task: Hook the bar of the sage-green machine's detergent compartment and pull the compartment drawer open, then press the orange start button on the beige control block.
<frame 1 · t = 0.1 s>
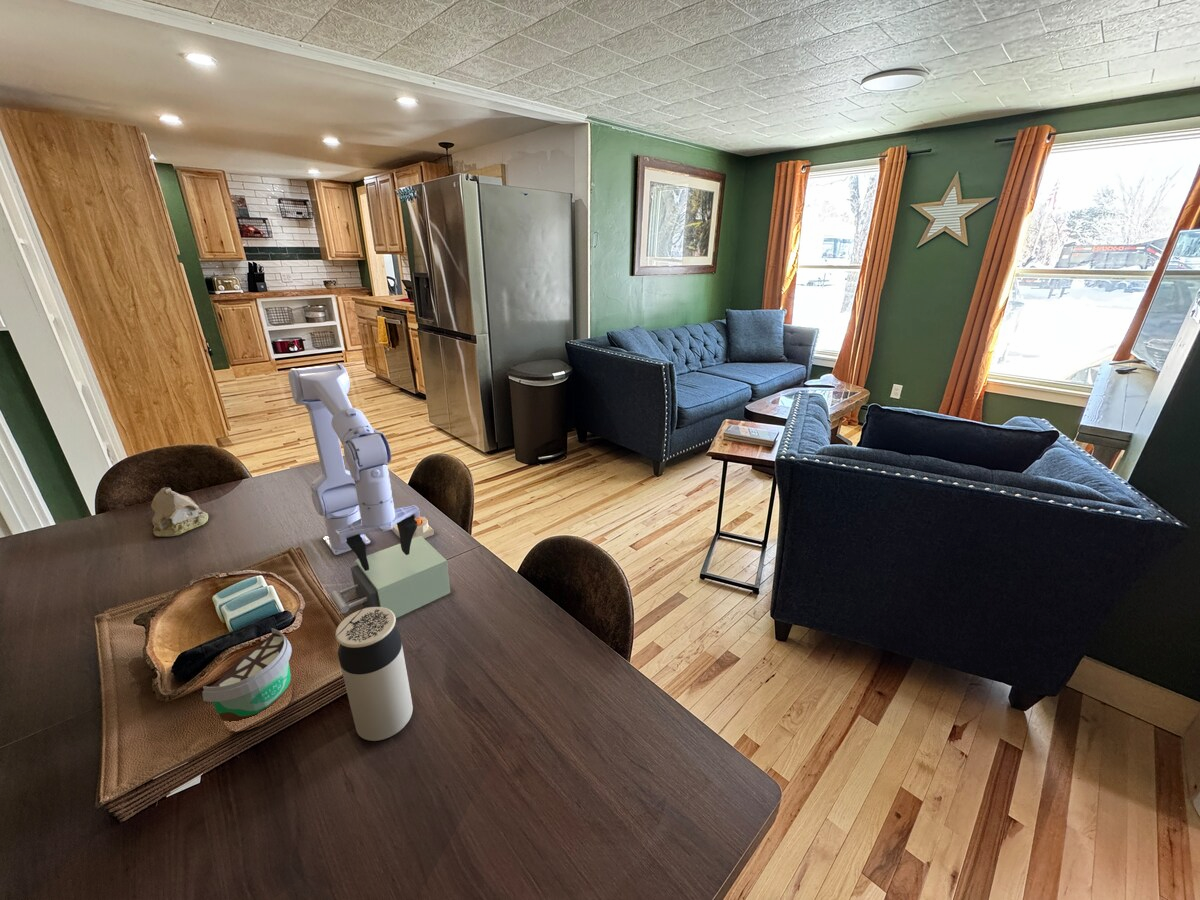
hand: (386, 560, 91), 10 cm above the table, tool pointing down, fingers open, 7 cm apart
travel mug: (385, 718, 72), on the table
control block: (410, 530, 120), on the table
compartment: (383, 585, 94), point 4 cm above the table, slide at 0.0 cm
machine: (406, 592, 98), on the table
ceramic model: (179, 523, 120), on the table
food container: (273, 709, 73), on the table
start button: (413, 521, 116), point 4 cm above the table, slide at 0.1 cm
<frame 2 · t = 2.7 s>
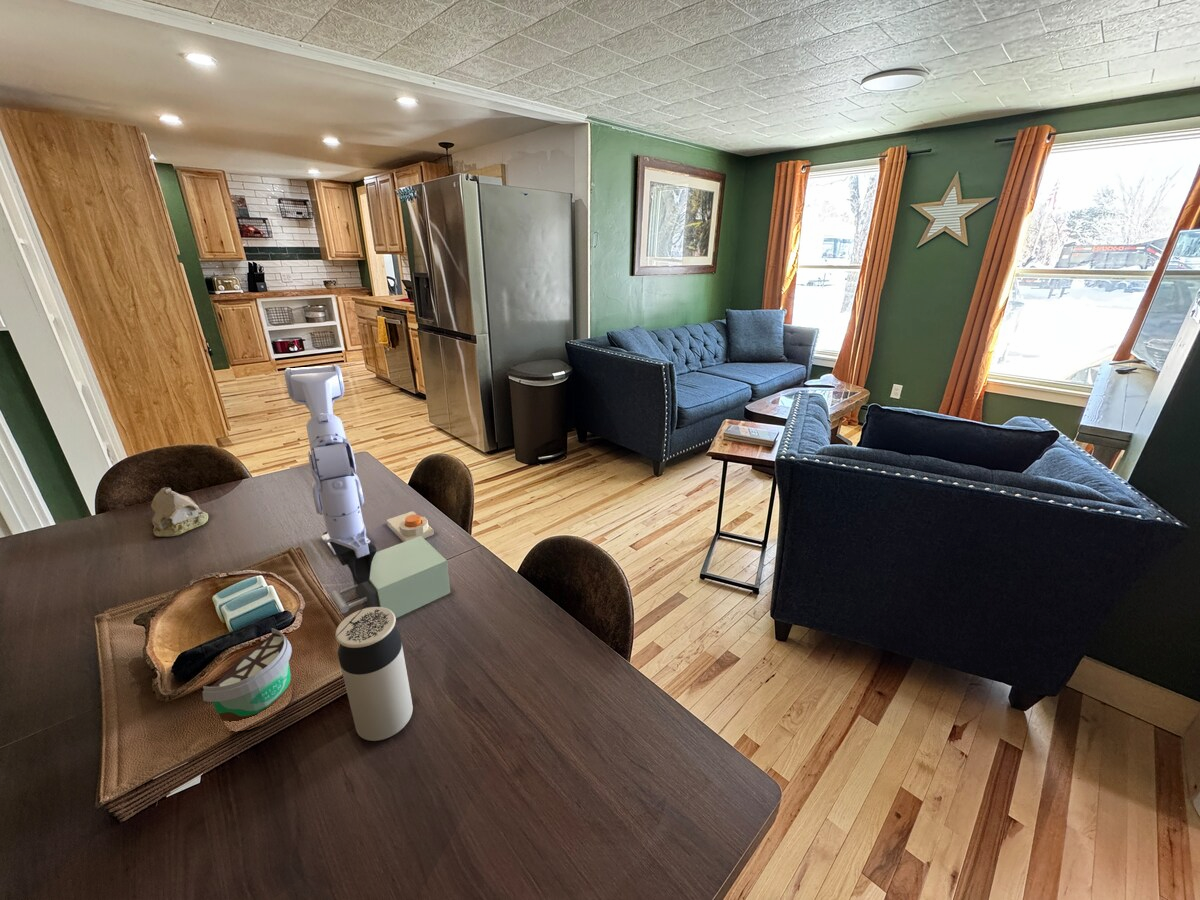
hand: (355, 572, 89), 10 cm above the table, tool pointing down, fingers open, 7 cm apart
nothing on the table moved.
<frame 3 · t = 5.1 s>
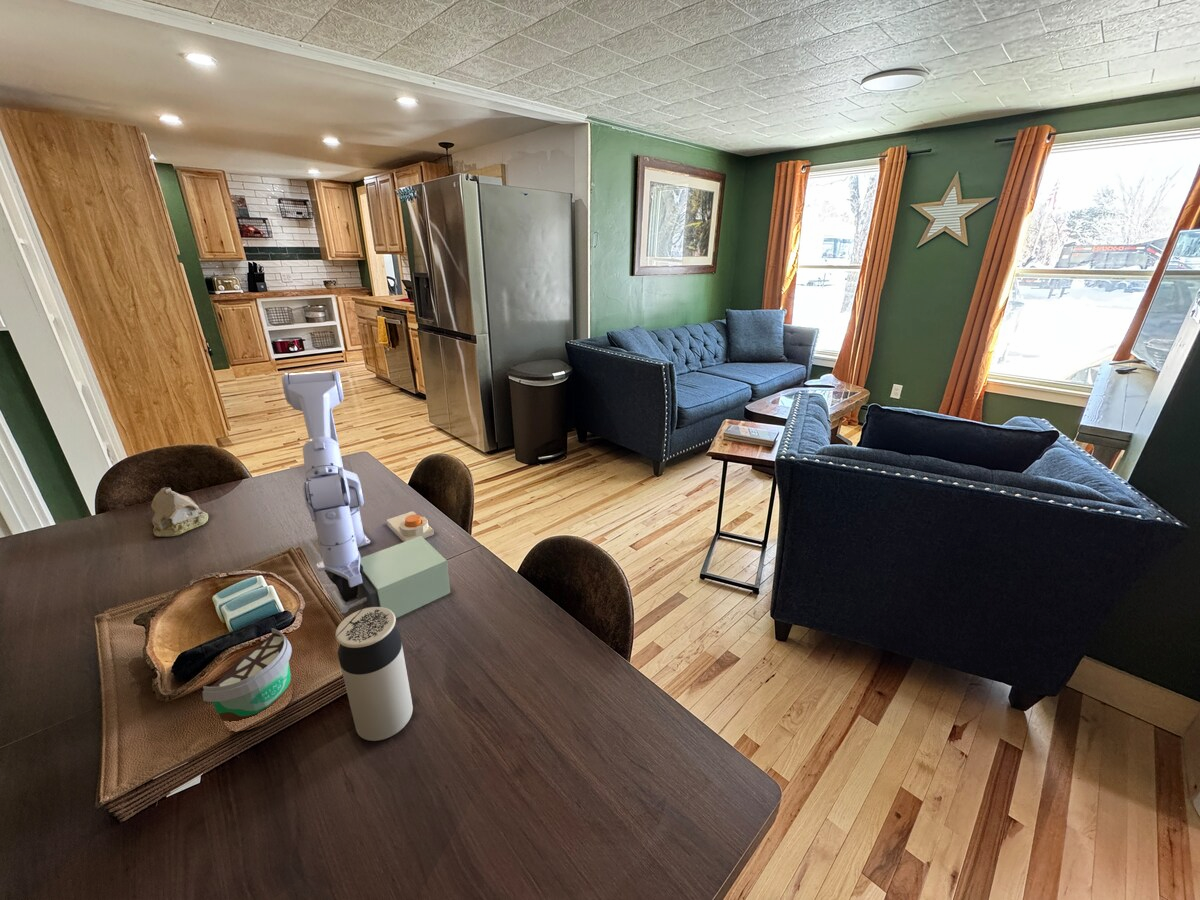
hand: (350, 598, 90), 4 cm above the table, tool pointing down, fingers closed, pressing on compartment
compartment: (383, 585, 94), point 4 cm above the table, slide at 0.0 cm, touching gripper
everything else where it was.
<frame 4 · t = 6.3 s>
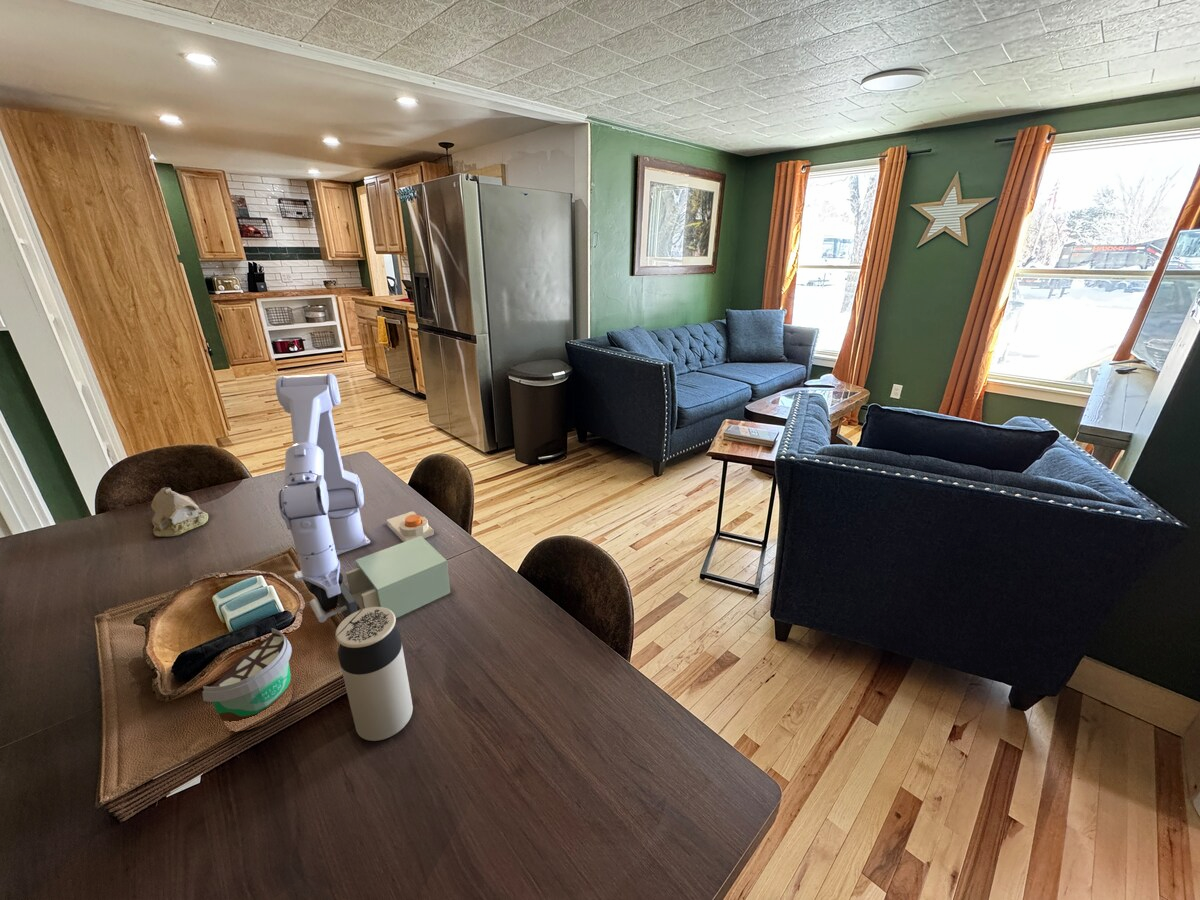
hand: (330, 608, 88), 4 cm above the table, tool pointing down, fingers closed, pressing on compartment
compartment: (363, 593, 91), point 4 cm above the table, slide at 3.7 cm, touching gripper
everything else where it was.
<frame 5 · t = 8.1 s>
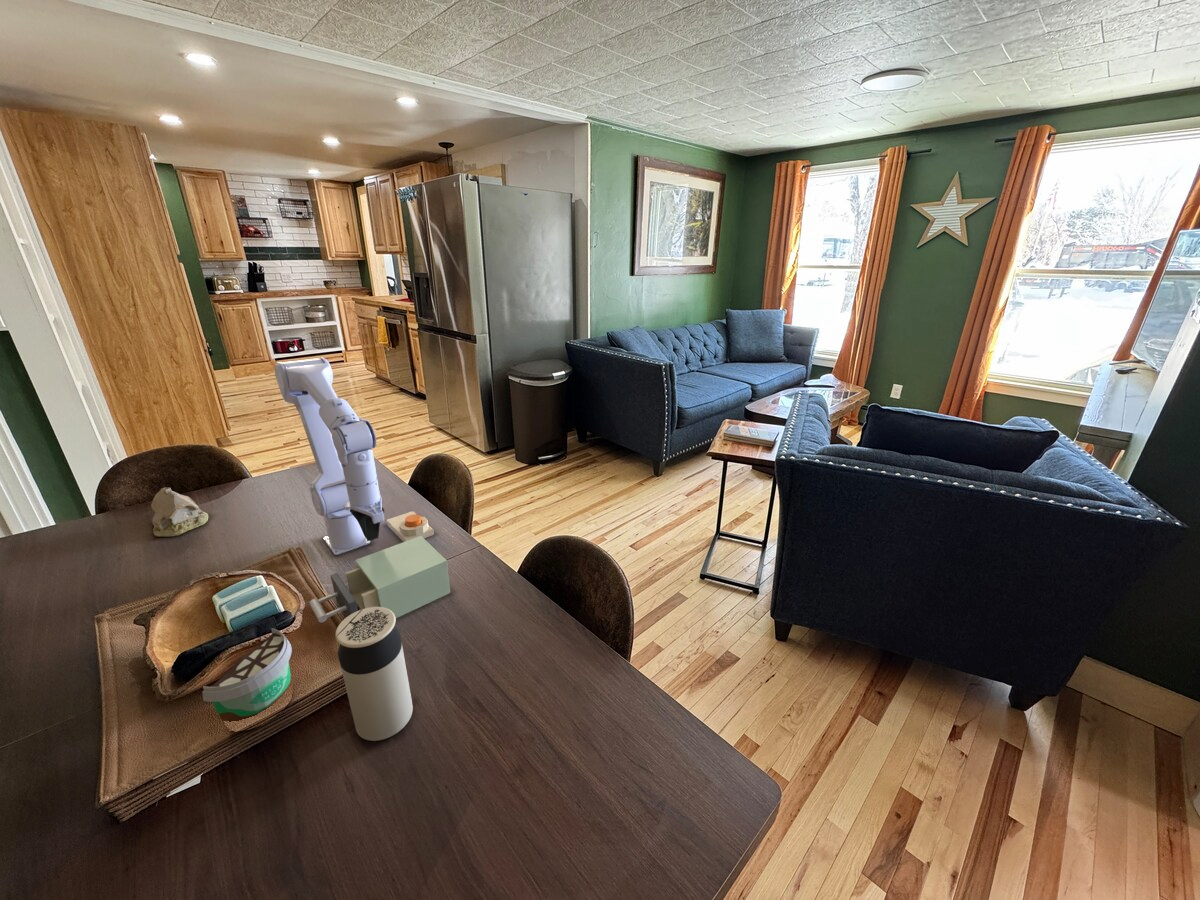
hand: (372, 538, 100), 9 cm above the table, tool pointing down, fingers closed
compartment: (363, 593, 91), point 4 cm above the table, slide at 3.7 cm
everything else where it was.
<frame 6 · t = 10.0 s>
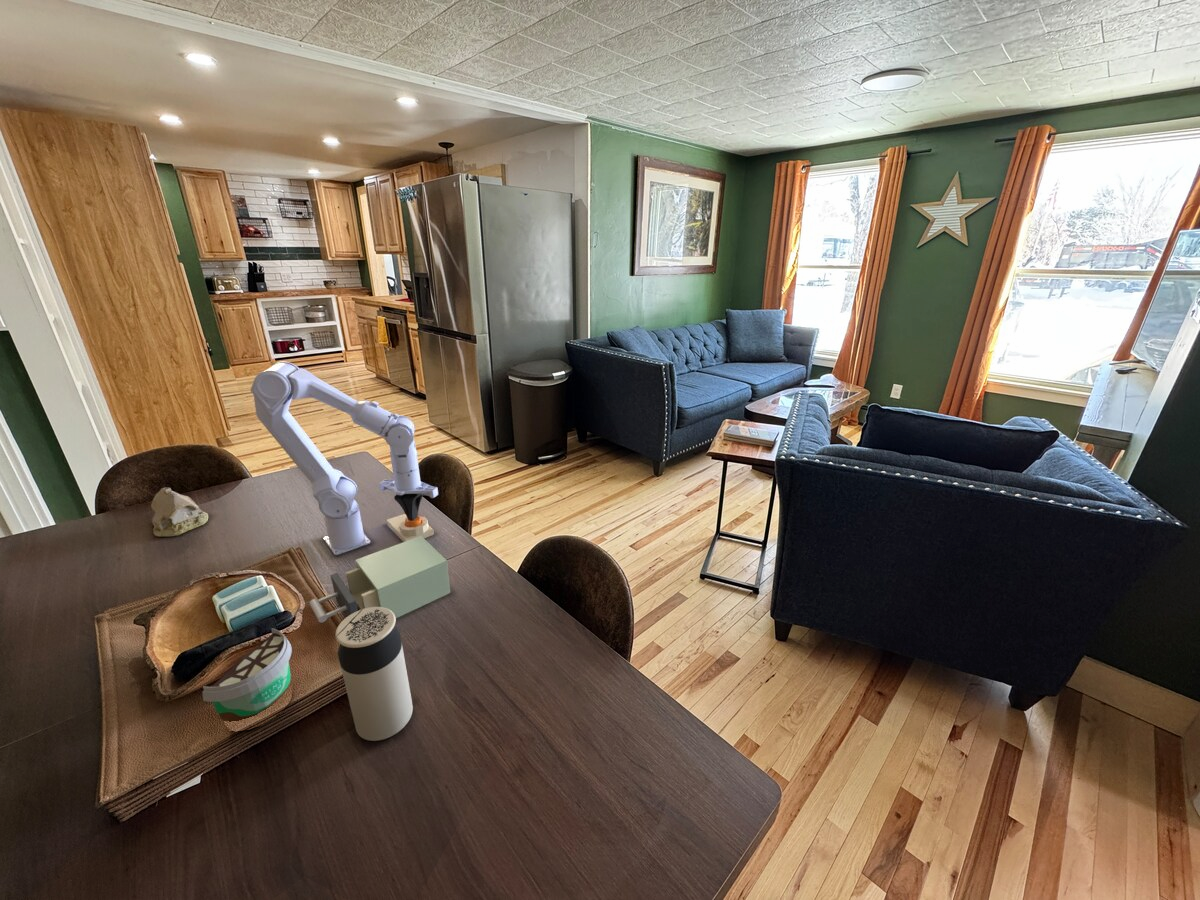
hand: (413, 518, 116), 5 cm above the table, tool pointing down, fingers closed, pressing on start button
start button: (413, 521, 117), point 4 cm above the table, slide at 0.0 cm, touching gripper
everything else where it was.
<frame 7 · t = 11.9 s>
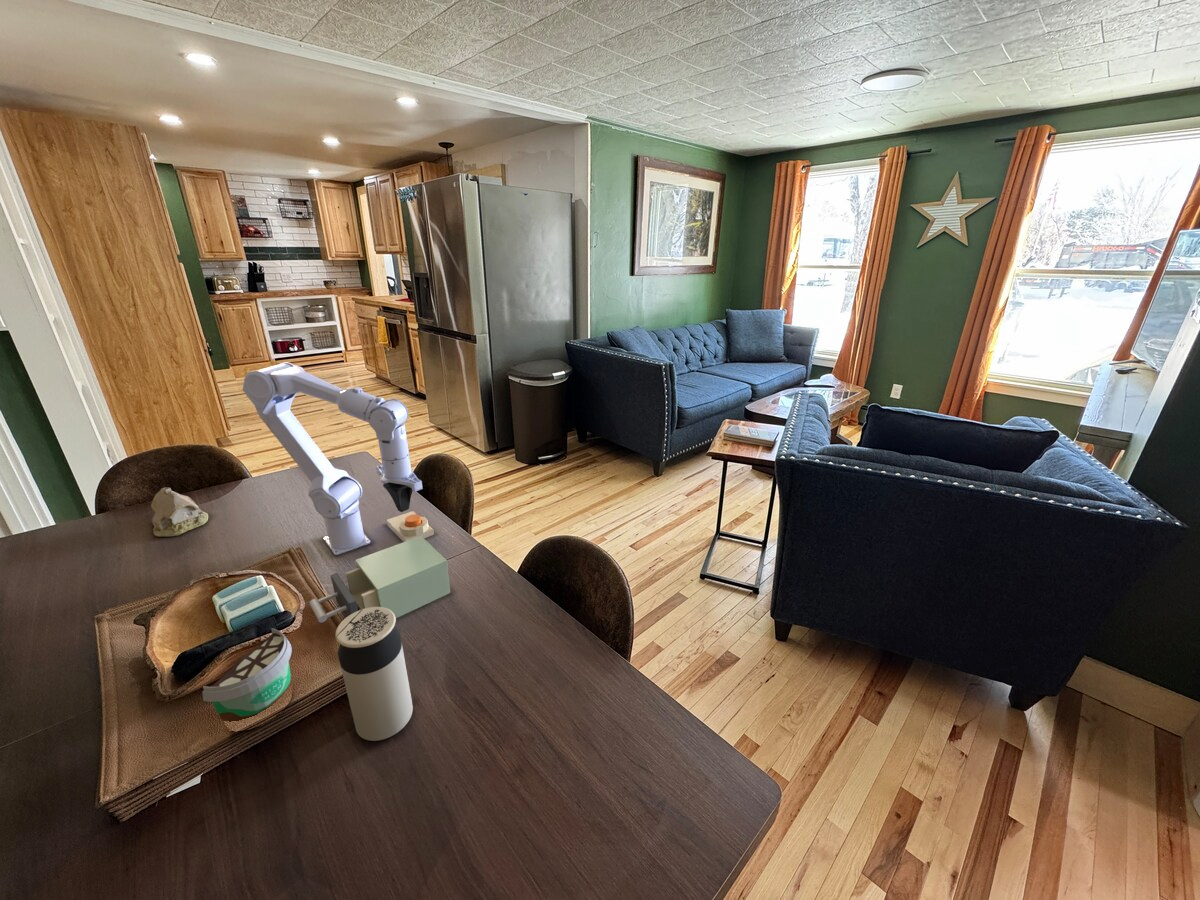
hand: (403, 509, 109), 10 cm above the table, tool pointing down, fingers closed
start button: (413, 521, 116), point 4 cm above the table, slide at 0.1 cm
everything else where it was.
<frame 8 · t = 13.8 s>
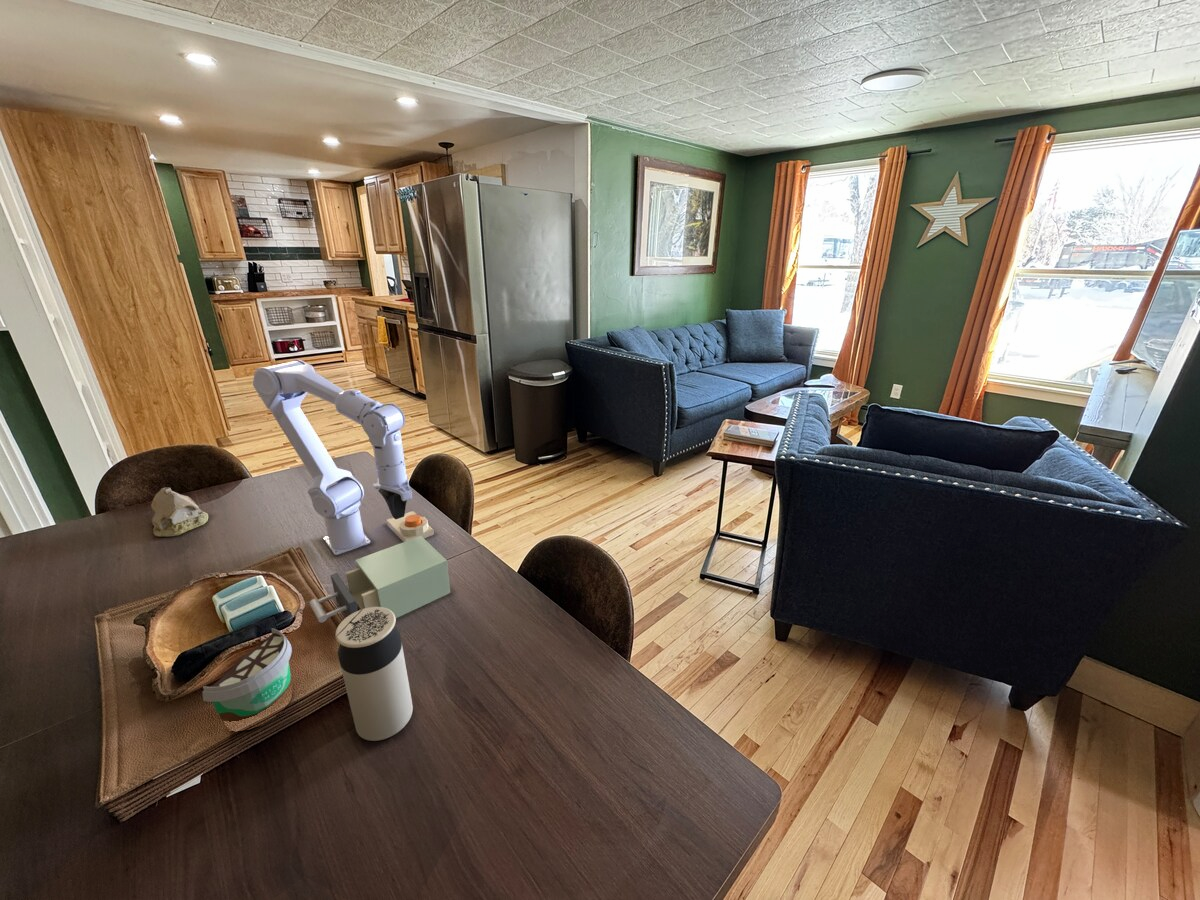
hand: (398, 516, 106), 10 cm above the table, tool pointing down, fingers closed
nothing on the table moved.
at the end: compartment slide at 3.7 cm; start button pushed in 1.2 cm at the most during the clip, back to where it started at the end; start button slide at 0.1 cm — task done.
